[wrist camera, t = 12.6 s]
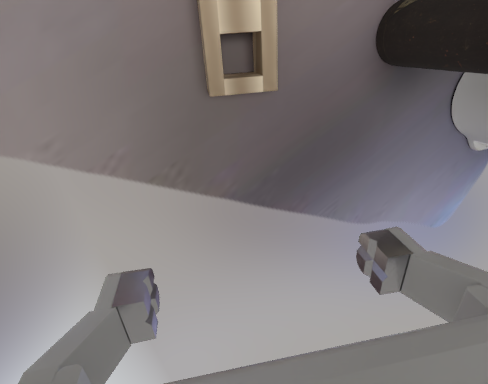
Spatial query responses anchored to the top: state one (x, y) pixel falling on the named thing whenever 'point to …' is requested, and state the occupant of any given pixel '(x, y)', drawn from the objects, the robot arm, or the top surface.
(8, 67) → the top surface
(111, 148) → the top surface
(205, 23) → the socket block
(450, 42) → the container
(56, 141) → the top surface
